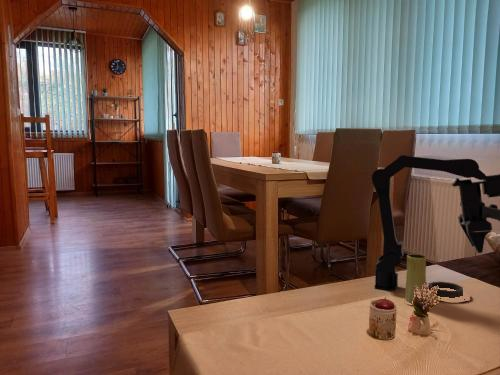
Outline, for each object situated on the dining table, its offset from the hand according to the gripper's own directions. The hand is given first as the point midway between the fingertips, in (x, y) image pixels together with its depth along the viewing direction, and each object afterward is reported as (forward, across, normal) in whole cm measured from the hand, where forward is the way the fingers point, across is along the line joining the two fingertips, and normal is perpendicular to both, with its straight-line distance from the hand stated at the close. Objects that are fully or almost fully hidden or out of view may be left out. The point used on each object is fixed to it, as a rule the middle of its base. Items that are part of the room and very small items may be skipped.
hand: (477, 249), depth 126 cm
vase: (+12, -12, +20) cm, 26 cm away
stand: (+13, -2, +11) cm, 17 cm away
